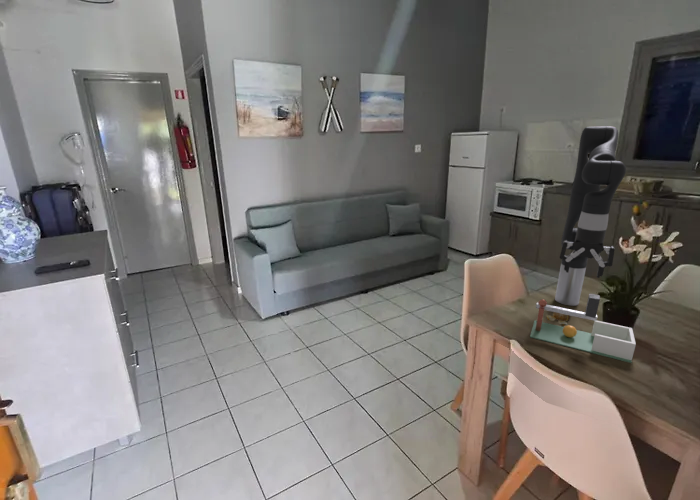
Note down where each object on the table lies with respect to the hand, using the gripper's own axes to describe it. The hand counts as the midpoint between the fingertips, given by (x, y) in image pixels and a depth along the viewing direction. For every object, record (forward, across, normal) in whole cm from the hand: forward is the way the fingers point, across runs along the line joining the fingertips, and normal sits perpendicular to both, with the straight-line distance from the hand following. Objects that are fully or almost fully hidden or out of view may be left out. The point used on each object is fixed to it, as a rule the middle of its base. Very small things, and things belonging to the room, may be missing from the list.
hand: (582, 274), depth 117 cm
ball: (+25, 0, -7) cm, 26 cm away
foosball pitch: (+28, -3, -7) cm, 28 cm away
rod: (+27, +3, -7) cm, 28 cm away
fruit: (+28, +4, -20) cm, 35 cm away
